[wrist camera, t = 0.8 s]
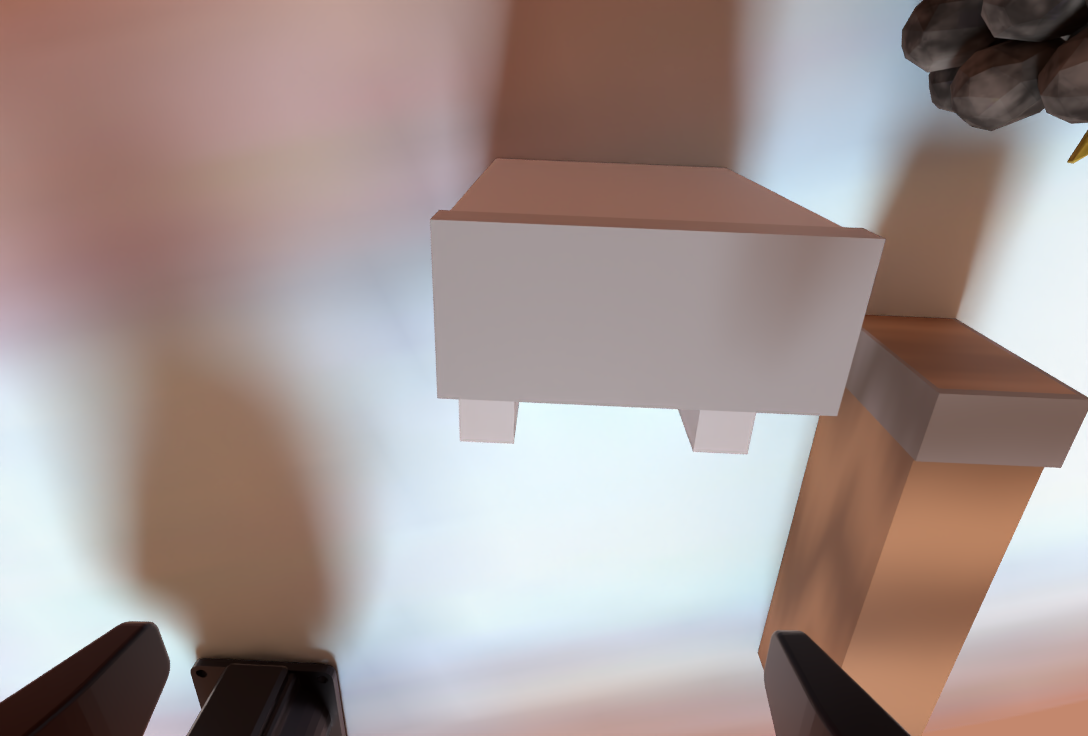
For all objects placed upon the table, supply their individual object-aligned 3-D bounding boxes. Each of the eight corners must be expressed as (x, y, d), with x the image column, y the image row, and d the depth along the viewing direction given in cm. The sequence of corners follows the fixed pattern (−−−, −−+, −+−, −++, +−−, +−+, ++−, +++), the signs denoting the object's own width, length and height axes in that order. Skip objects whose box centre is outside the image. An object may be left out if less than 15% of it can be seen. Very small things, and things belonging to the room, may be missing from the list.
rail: (840, 656, 27) (907, 794, 22) (754, 652, 27) (801, 789, 22) (955, 318, 20) (1093, 400, 15) (841, 313, 20) (939, 393, 15)
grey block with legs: (708, 376, 22) (811, 581, 13) (481, 366, 22) (424, 563, 13) (743, 164, 19) (911, 240, 10) (479, 154, 19) (405, 218, 10)
